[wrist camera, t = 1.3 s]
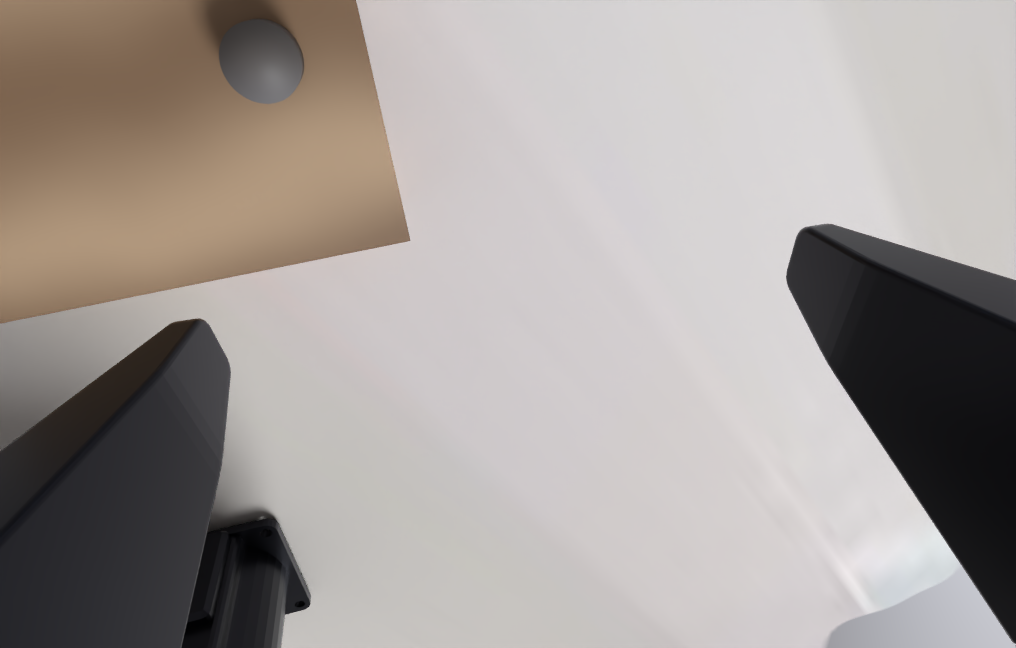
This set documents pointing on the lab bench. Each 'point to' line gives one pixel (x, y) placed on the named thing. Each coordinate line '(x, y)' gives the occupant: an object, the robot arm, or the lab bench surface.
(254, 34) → the door panel
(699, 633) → the lab bench surface
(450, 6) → the lab bench surface
